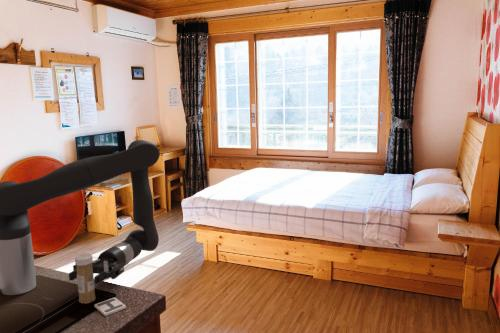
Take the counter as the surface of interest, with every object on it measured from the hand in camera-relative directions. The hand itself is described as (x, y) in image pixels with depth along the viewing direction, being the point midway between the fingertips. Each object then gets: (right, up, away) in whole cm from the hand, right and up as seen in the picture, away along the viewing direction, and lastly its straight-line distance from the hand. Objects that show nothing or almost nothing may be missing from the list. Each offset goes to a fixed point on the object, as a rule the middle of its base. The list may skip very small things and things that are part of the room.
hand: (82, 279), depth 112 cm
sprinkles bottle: (0, -7, +2) cm, 7 cm away
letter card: (+8, -7, -2) cm, 11 cm away
